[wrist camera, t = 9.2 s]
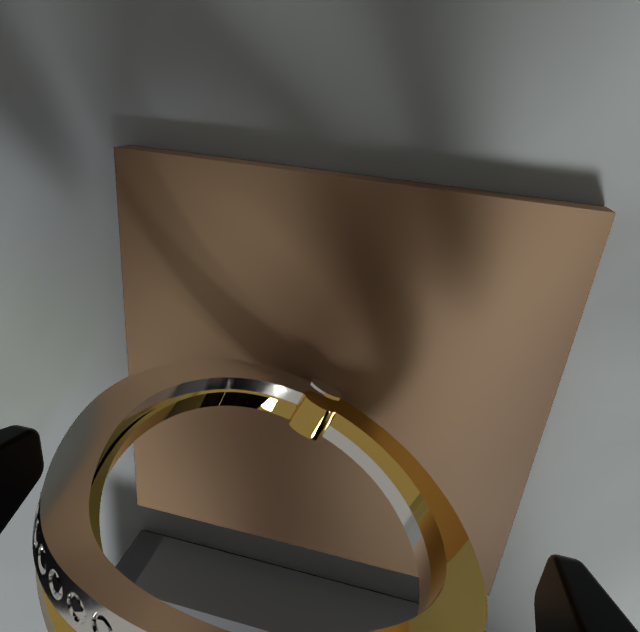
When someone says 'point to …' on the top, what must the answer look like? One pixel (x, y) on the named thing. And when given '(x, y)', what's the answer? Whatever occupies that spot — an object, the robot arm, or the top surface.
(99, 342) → the top surface
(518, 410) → the pad
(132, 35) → the top surface
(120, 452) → the ring
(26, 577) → the top surface
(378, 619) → the bin
